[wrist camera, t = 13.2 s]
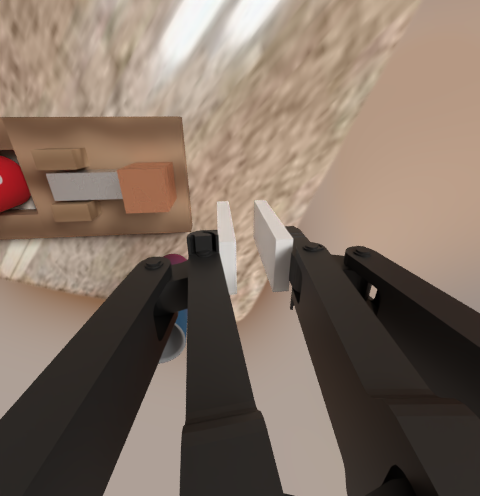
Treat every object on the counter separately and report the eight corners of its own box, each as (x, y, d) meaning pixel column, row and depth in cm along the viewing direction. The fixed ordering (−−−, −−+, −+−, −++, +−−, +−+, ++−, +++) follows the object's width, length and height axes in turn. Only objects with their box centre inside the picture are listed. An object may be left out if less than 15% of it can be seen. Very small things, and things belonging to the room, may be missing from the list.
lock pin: (56, 164, 28) (19, 171, 23) (172, 161, 29) (162, 168, 24) (68, 201, 30) (37, 216, 25) (176, 198, 31) (168, 212, 26)
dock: (-84, 118, 27) (-150, 116, 22) (181, 117, 30) (175, 114, 25) (-25, 233, 34) (-66, 251, 29) (192, 225, 36) (188, 240, 31)
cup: (152, 284, 40) (119, 363, 26) (151, 246, 37) (115, 313, 23) (194, 287, 41) (184, 364, 27) (197, 250, 38) (187, 317, 24)
